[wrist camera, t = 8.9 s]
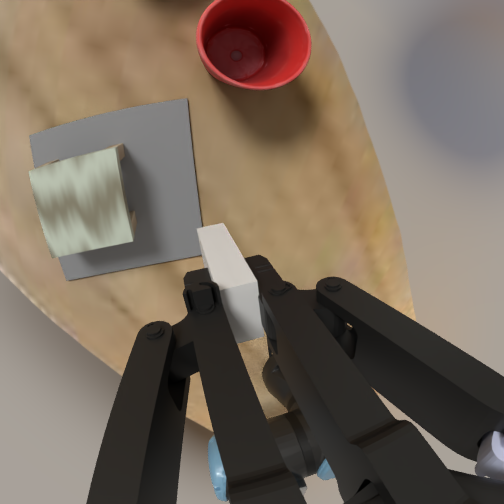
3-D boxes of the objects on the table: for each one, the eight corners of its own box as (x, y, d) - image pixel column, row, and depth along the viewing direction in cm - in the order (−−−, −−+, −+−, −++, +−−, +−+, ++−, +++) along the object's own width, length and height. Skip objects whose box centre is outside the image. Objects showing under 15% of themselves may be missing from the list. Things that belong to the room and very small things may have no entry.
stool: (133, 241, 31) (52, 258, 28) (137, 222, 36) (65, 237, 34) (115, 147, 26) (28, 171, 24) (123, 142, 31) (47, 162, 29)
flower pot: (244, 113, 34) (270, 113, 26) (170, 64, 29) (172, 45, 21) (293, 52, 32) (331, 38, 24) (224, 2, 27) (245, -29, 19)
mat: (205, 252, 41) (206, 254, 40) (67, 279, 36) (66, 280, 36) (186, 98, 32) (187, 98, 31) (30, 135, 27) (29, 135, 27)
